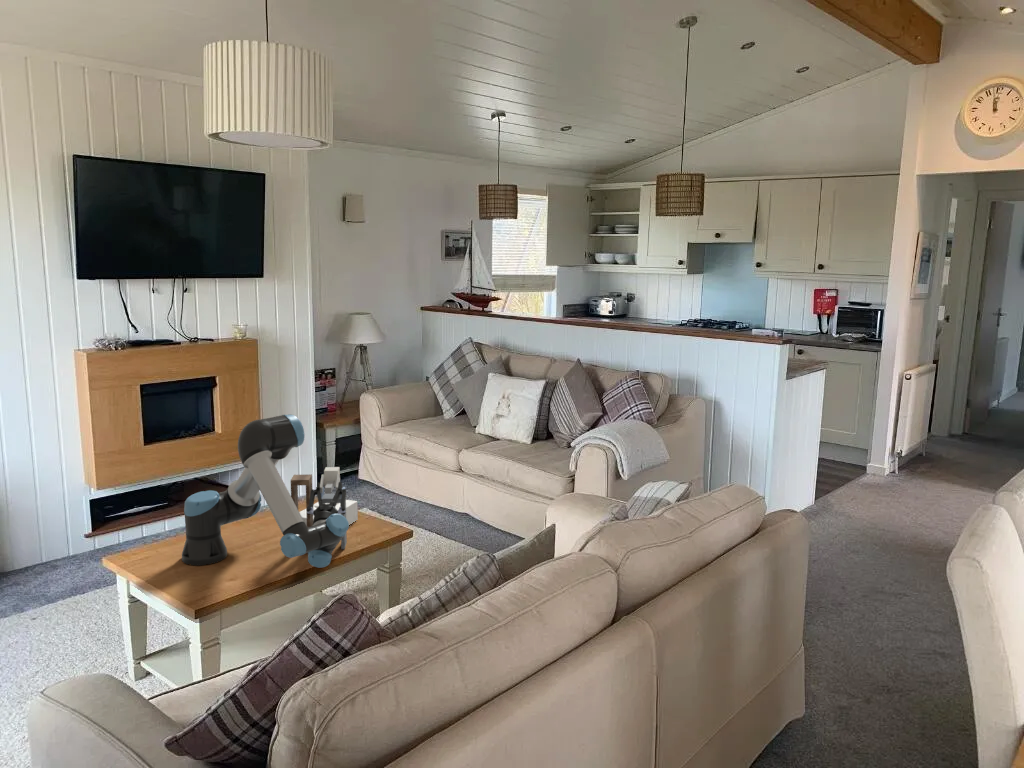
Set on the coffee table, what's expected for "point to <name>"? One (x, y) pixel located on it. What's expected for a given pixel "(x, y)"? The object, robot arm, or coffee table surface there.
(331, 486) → the plug
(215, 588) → the coffee table surface
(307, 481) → the tall stand
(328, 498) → the short stand
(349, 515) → the tissue box
